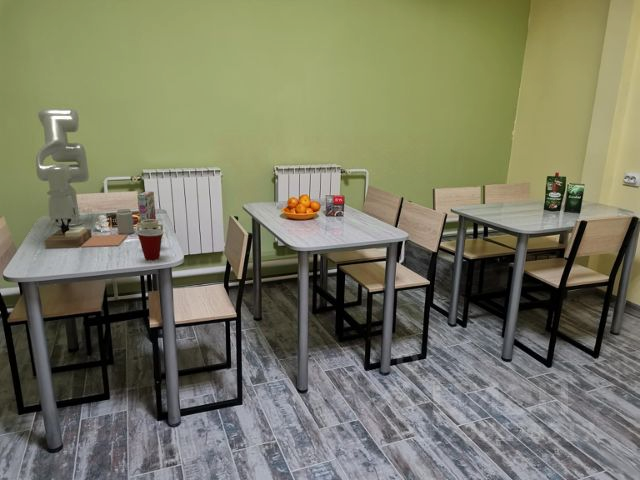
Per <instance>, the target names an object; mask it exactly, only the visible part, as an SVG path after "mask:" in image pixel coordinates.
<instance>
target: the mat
mask: <svg viewBox="0 0 640 480" xmlns="http://www.w3.org/2000/svg"><path fill="white" fill-rule="evenodd" d="M127 237H129V234H127V235H122V234H98V235H92V237H91V238H90V239H88V240H87V241H86V242H85V243H84V244H83V245H81V246H80V248H102V247H103V248H105V247H110V248H111V247H119V246H120V245H122V243H123V242H124V241H125V240H126V238H127Z"/></svg>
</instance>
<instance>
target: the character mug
mask: <svg viewBox="0 0 640 480" xmlns="http://www.w3.org/2000/svg"><path fill="white" fill-rule="evenodd" d="M140 229H141V230H145V229H156V230H162V231H164V225H163V224H162V223H159V221H158V219H157V218H156V219H147V220H143V221H141V225H140V224H139V225H136V232H137V231H139V230H140Z"/></svg>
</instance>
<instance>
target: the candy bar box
mask: <svg viewBox="0 0 640 480" xmlns="http://www.w3.org/2000/svg"><path fill="white" fill-rule="evenodd" d="M155 202H156V201H155V192H154V191H144V192H141V193H139V194H137V205H138V215H139V216H138V217H139V226H140V225H141V221H143V220H147V219H156V220H157V218H156V217H157V216H156V207H155V205H156V204H155Z"/></svg>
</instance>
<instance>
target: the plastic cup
mask: <svg viewBox="0 0 640 480" xmlns="http://www.w3.org/2000/svg"><path fill="white" fill-rule="evenodd" d="M164 233H165V231H164V230H163V231H162V230H156V229H145V230H142V229H139V231H137V230H136V235H137V237H138V240H139V243H140V246H141V249H142V253H143V256H144V259H145V260H146V261H148V260H152V261H157V260H159V259H160V256H161V247H162V239H163V235H164ZM156 259H157V260H156Z"/></svg>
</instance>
